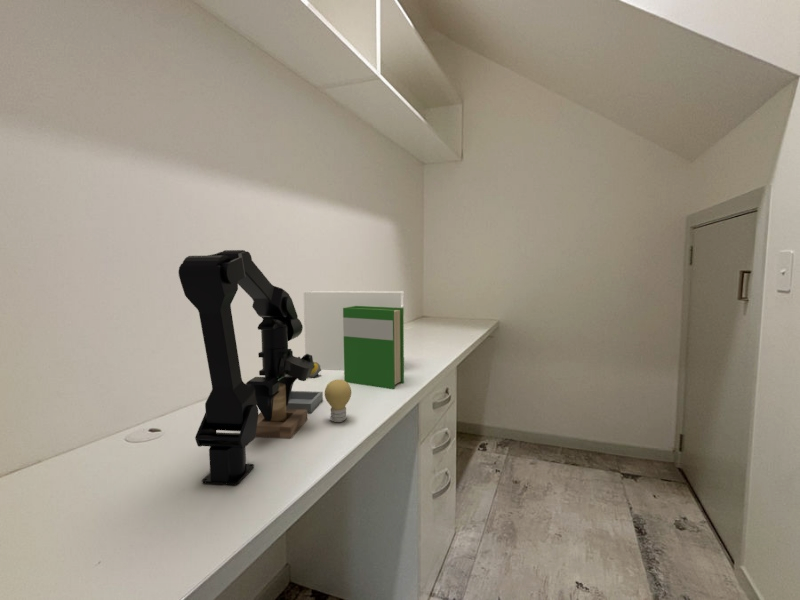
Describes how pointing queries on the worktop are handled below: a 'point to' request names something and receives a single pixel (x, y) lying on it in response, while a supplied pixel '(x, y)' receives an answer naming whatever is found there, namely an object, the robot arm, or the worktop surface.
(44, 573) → the worktop surface
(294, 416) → the square wooden frame
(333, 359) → the white flat rectangular panel
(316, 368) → the ice cream cone
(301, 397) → the tray
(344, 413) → the light bulb
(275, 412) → the dowel
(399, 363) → the hardback book
